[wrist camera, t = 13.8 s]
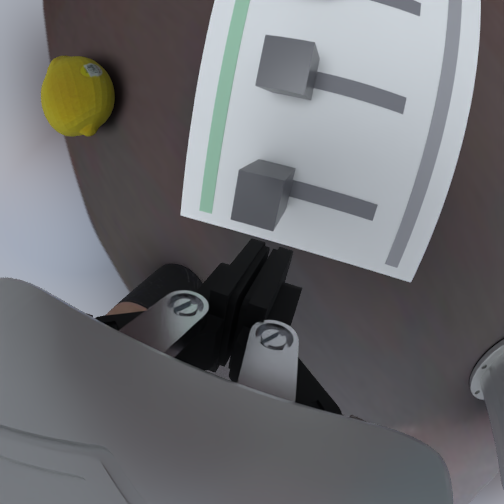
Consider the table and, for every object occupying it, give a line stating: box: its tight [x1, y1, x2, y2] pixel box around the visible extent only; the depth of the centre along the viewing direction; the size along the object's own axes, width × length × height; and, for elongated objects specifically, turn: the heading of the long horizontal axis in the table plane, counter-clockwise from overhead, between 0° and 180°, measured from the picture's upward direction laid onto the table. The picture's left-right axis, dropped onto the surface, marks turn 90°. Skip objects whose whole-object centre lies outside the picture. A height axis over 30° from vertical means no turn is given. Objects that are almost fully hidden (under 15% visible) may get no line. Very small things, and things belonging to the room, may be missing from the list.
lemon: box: [41, 56, 115, 136], centre depth 24 cm, size 11×8×8 cm
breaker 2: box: [231, 159, 296, 231], centre depth 21 cm, size 3×4×5 cm
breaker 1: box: [255, 35, 320, 100], centre depth 17 cm, size 3×4×5 cm
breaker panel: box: [181, 0, 481, 282], centre depth 20 cm, size 22×28×3 cm
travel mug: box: [106, 264, 202, 315], centre depth 27 cm, size 8×8×20 cm
